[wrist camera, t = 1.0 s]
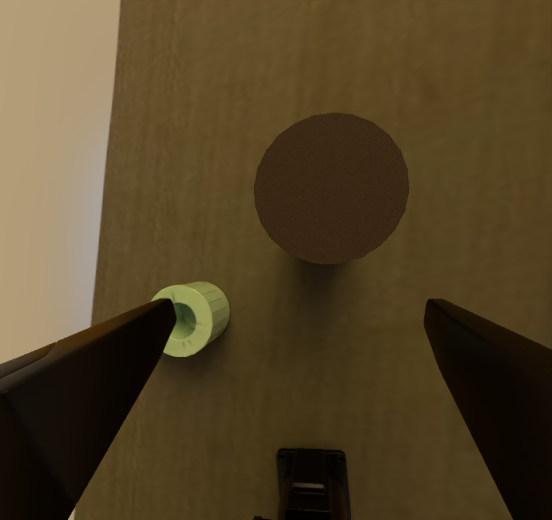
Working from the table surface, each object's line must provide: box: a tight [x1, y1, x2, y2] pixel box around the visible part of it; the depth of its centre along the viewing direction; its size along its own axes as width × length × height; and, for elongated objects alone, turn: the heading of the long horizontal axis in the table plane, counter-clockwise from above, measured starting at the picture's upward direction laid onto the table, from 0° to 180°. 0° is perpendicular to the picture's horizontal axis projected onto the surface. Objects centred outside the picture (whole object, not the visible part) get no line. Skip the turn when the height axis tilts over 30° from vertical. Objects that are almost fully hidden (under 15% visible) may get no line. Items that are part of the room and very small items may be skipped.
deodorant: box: [254, 113, 409, 264], centre depth 18 cm, size 6×6×15 cm
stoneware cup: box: [151, 281, 230, 357], centre depth 25 cm, size 9×6×4 cm
